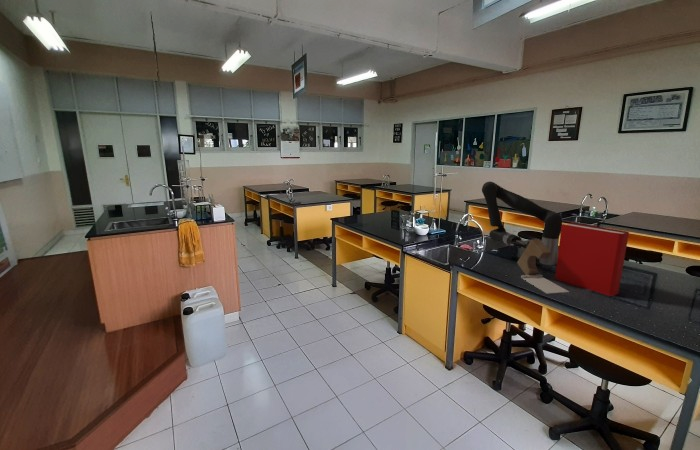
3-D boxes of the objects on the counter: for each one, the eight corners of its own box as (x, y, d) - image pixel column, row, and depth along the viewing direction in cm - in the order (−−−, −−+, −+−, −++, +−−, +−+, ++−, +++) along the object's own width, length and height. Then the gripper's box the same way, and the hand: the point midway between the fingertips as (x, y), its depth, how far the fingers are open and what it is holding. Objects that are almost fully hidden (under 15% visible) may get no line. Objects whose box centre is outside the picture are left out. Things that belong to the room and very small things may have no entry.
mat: (540, 276, 186) (540, 274, 185) (569, 292, 164) (569, 289, 164) (520, 277, 185) (521, 275, 184) (547, 293, 163) (547, 291, 163)
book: (554, 278, 182) (561, 224, 175) (562, 276, 186) (569, 222, 179) (612, 296, 159) (622, 234, 152) (619, 292, 163) (630, 231, 156)
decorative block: (535, 276, 186) (551, 252, 173) (526, 276, 186) (542, 253, 172) (524, 262, 194) (540, 238, 181) (516, 262, 194) (531, 238, 180)
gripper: (502, 234, 200) (519, 242, 183) (522, 234, 201) (541, 241, 185) (501, 246, 202) (518, 254, 185) (521, 245, 203) (539, 253, 186)
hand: (529, 248), depth 185 cm, fingers closed
